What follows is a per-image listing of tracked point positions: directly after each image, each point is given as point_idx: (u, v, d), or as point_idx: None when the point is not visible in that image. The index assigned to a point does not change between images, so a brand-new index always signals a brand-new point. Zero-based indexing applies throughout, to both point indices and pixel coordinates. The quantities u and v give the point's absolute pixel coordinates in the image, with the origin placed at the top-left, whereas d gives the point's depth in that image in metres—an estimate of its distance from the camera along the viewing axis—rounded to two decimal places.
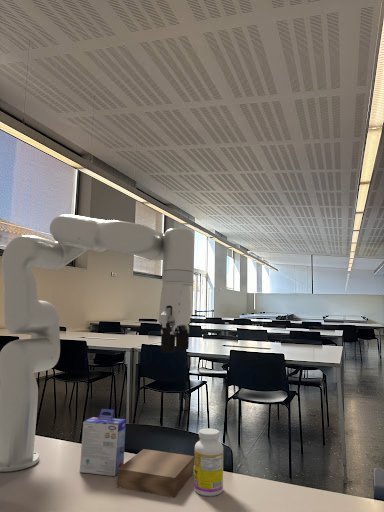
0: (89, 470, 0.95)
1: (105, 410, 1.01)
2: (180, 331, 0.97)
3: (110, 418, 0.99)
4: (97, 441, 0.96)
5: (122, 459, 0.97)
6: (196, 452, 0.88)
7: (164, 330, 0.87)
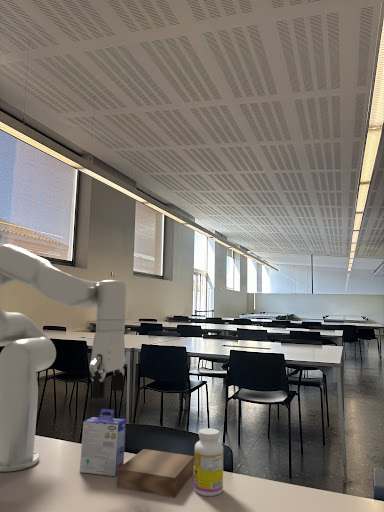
0: (89, 470, 0.95)
1: (105, 410, 1.01)
2: (116, 374, 1.05)
3: (110, 418, 0.99)
4: (97, 441, 0.96)
5: (122, 459, 0.97)
6: (196, 452, 0.88)
7: (94, 378, 0.94)
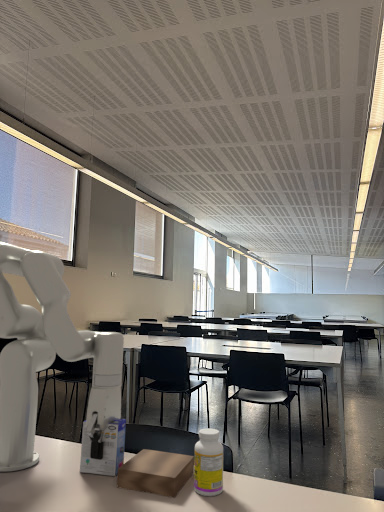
0: (89, 470, 0.95)
1: None
2: None
3: None
4: None
5: (122, 459, 0.97)
6: (196, 452, 0.88)
7: (92, 439, 0.94)
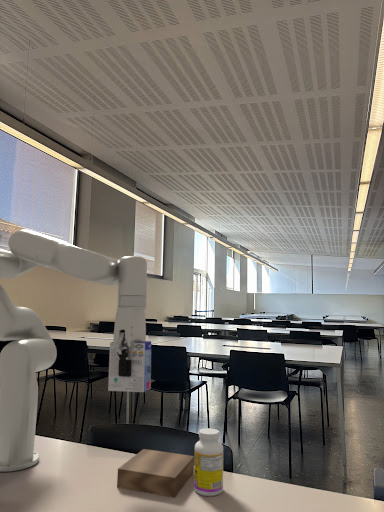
0: (118, 388, 0.96)
1: None
2: None
3: None
4: None
5: (149, 378, 0.98)
6: (196, 452, 0.88)
7: (120, 356, 0.95)
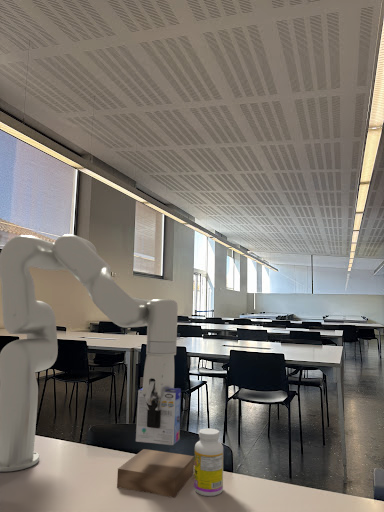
0: (146, 439, 0.92)
1: None
2: None
3: None
4: None
5: (178, 429, 0.94)
6: (196, 452, 0.88)
7: (150, 407, 0.91)
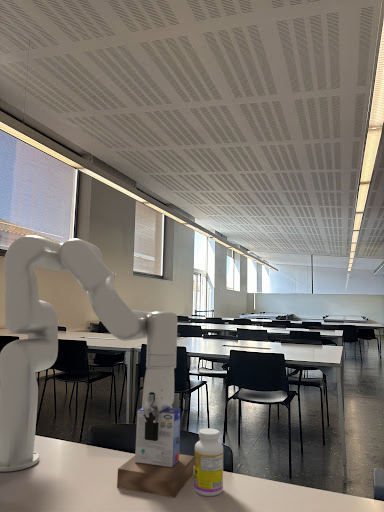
0: (145, 460, 0.92)
1: None
2: None
3: None
4: None
5: (178, 450, 0.93)
6: (196, 452, 0.88)
7: (147, 419, 0.89)
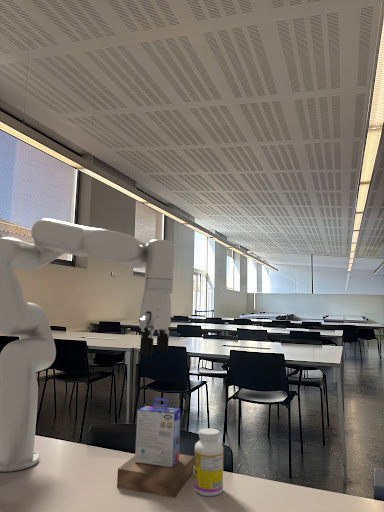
0: (145, 460, 0.92)
1: (159, 399, 0.97)
2: (161, 334, 1.05)
3: (165, 407, 0.96)
4: (152, 430, 0.93)
5: (178, 450, 0.93)
6: (196, 452, 0.88)
7: (143, 334, 0.94)
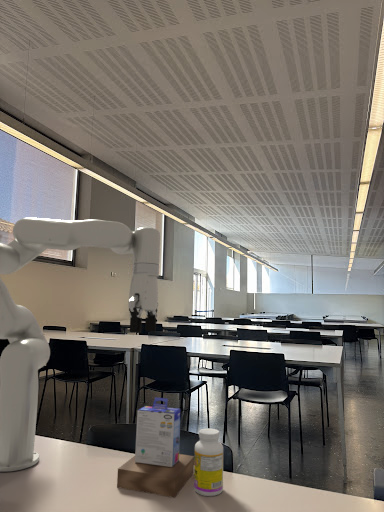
0: (145, 460, 0.92)
1: (159, 399, 0.97)
2: (149, 316, 1.13)
3: (164, 407, 0.96)
4: (152, 430, 0.93)
5: (178, 450, 0.93)
6: (196, 452, 0.88)
7: (132, 313, 1.02)
